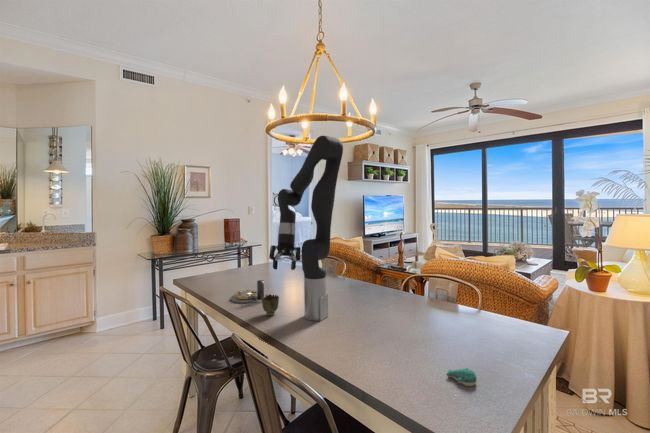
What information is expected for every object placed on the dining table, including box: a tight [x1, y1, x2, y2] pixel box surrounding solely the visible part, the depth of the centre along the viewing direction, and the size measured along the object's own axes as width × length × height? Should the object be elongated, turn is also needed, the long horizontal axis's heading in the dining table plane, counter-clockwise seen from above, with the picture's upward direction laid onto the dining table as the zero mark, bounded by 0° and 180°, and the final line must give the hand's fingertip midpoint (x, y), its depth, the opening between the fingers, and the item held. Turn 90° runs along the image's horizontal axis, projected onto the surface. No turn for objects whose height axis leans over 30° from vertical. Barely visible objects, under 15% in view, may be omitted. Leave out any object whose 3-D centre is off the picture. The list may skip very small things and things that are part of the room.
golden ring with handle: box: [233, 279, 265, 301], centre depth 155 cm, size 17×12×9 cm
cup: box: [261, 293, 280, 317], centre depth 134 cm, size 8×7×8 cm
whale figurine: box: [446, 367, 477, 387], centre depth 84 cm, size 6×7×4 cm
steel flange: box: [230, 290, 259, 304], centre depth 157 cm, size 15×15×3 cm
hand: (284, 269), depth 138 cm, fingers open, 8 cm apart
